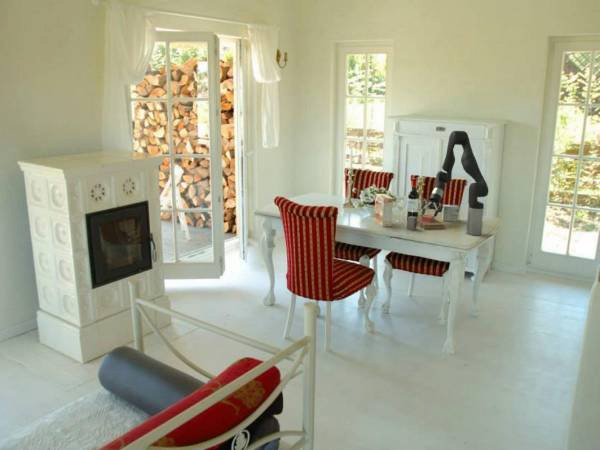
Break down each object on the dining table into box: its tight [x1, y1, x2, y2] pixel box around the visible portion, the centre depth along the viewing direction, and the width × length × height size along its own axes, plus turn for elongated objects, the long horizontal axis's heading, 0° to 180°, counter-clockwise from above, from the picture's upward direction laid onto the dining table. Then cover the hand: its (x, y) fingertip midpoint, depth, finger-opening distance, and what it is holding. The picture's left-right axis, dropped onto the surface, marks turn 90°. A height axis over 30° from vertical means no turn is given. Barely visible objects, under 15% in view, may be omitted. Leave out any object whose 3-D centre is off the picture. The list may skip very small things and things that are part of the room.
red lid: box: [421, 214, 435, 222], centre depth 387 cm, size 6×6×3 cm
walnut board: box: [416, 216, 445, 230], centre depth 387 cm, size 22×14×3 cm, turn 10°
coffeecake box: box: [373, 193, 394, 228], centre depth 386 cm, size 15×7×20 cm, turn 14°
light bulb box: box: [441, 204, 460, 223], centre depth 401 cm, size 11×7×11 cm, turn 84°
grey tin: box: [406, 215, 418, 231], centre depth 375 cm, size 5×5×8 cm
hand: (428, 215), depth 387 cm, fingers open, 8 cm apart
